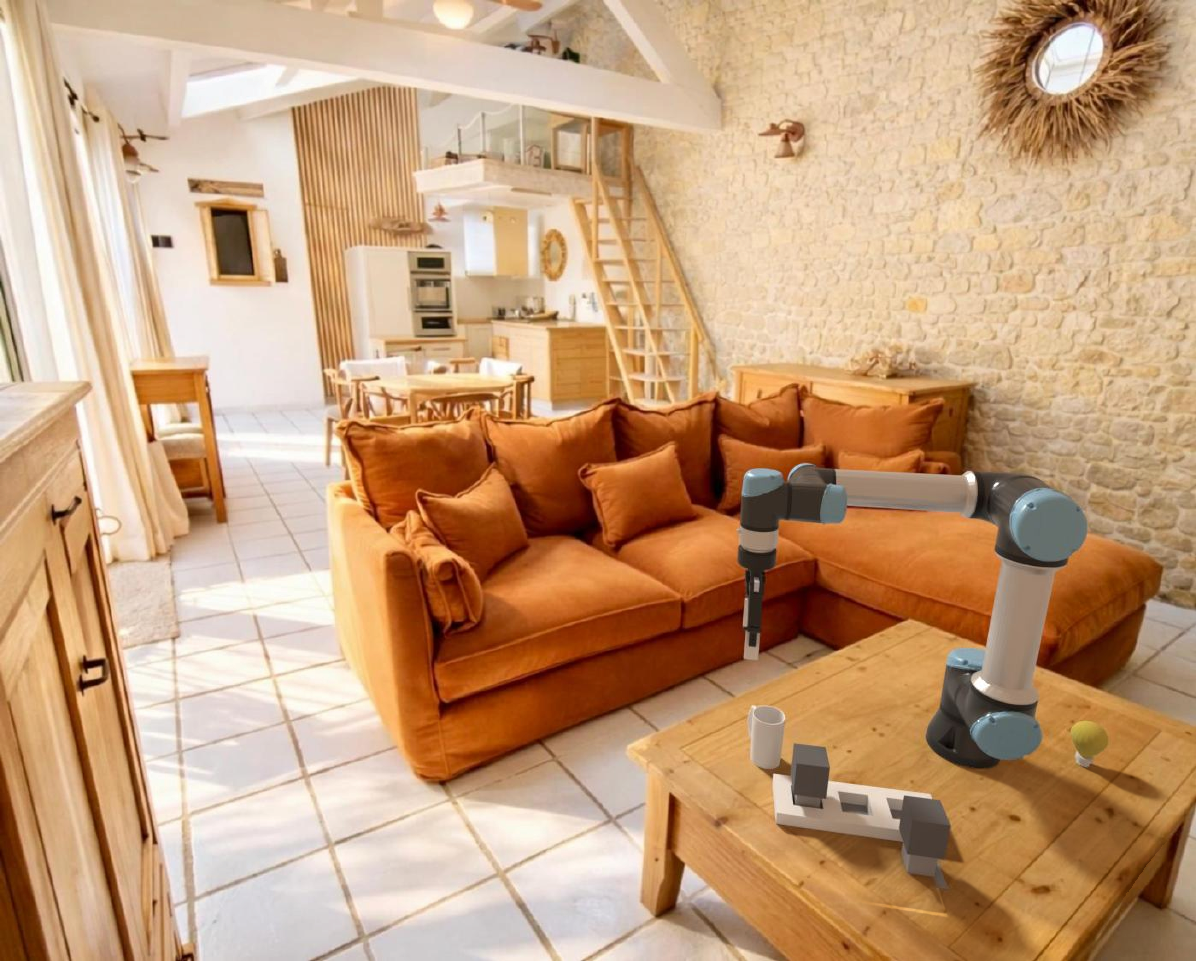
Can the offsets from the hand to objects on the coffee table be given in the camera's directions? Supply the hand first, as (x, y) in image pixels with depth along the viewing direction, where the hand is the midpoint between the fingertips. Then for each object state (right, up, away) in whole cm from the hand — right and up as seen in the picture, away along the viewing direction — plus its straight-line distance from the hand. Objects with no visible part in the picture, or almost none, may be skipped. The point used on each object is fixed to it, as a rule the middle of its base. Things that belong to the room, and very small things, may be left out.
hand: (750, 642), depth 142 cm
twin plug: (+9, -30, -8) cm, 33 cm away
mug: (+4, -27, +7) cm, 28 cm away
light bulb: (+74, -28, +7) cm, 79 cm away
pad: (+25, -35, -21) cm, 48 cm away
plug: (+25, -35, -21) cm, 48 cm away
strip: (+18, -32, -9) cm, 38 cm away
